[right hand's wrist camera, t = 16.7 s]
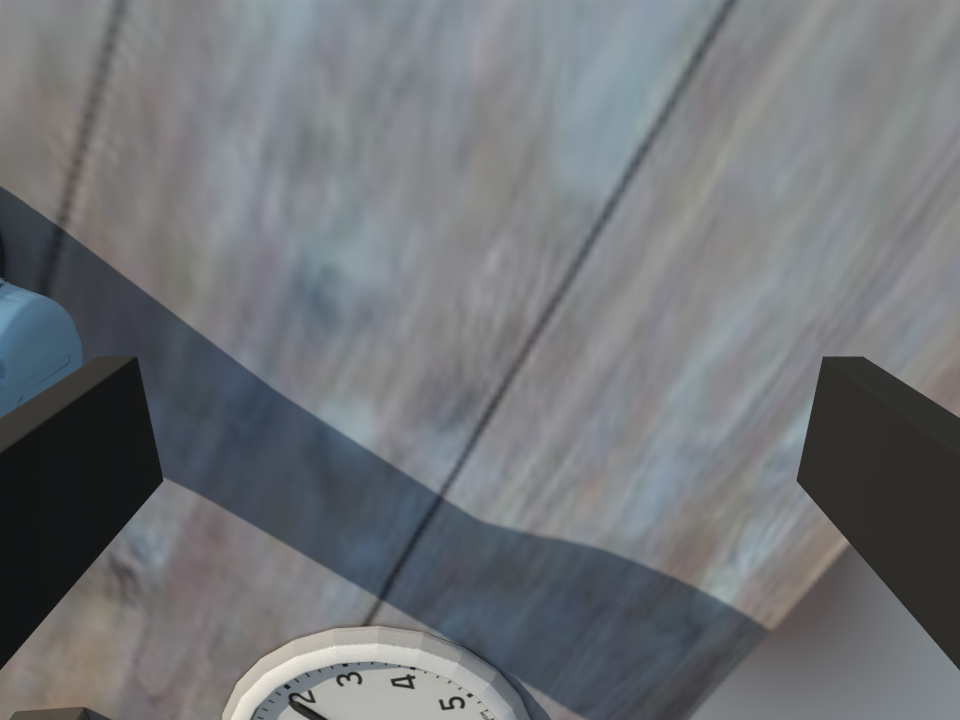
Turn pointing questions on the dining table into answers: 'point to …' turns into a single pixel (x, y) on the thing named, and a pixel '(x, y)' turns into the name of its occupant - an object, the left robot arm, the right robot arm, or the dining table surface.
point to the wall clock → (373, 680)
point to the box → (52, 714)
